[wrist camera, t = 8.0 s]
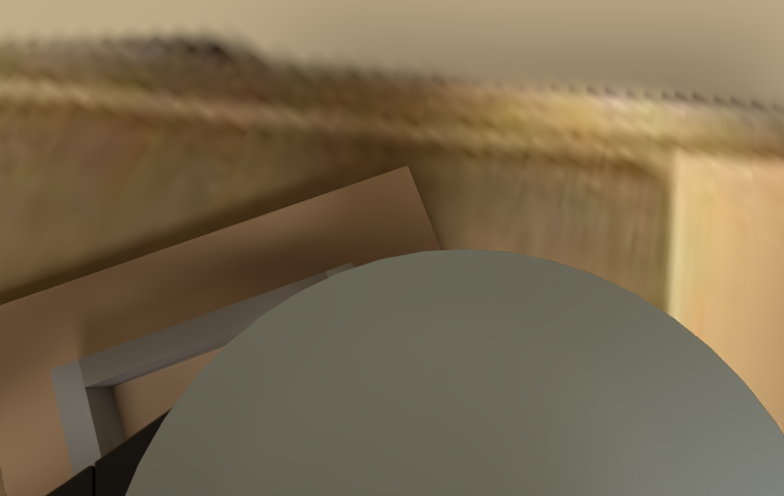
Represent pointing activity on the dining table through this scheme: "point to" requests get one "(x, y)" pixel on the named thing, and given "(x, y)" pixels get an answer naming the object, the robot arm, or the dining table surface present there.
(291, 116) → the dining table surface
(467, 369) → the ceramic canister
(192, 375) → the collar board
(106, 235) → the dining table surface
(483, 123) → the dining table surface
